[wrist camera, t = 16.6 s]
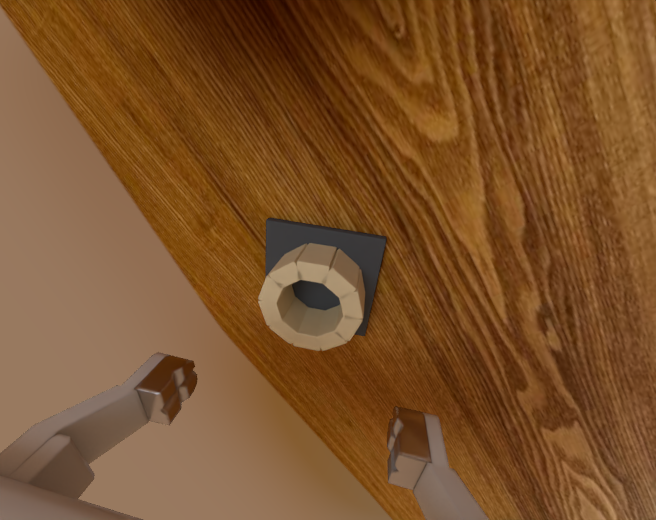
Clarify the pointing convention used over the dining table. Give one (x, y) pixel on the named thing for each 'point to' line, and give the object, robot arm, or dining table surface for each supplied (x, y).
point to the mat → (353, 244)
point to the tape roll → (311, 323)
